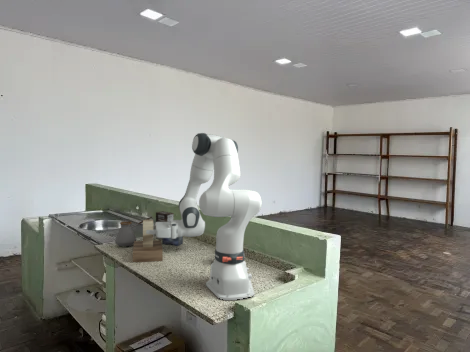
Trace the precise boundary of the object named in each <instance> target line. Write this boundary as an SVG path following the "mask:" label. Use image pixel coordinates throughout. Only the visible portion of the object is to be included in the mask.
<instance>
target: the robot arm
mask: <svg viewBox="0 0 470 352" xmlns="http://www.w3.org/2000/svg"><path fill="white" fill-rule="evenodd" d="M191 148H192V152H193V153H194V156H193V159H192V163H191V166H190V167H191V168H190V174H189V180H188V183H187V187H186V190H185V193H184V195H183V197H182V198H181V199H180V201H178V210H179V213H180V216H181V217H180V218H181V219H173V220H170V223H169V222H156V221H155V224H153V230H146V234H153V236H154V235H155V238H156V237H158V238H171V239H175V238H176V237H182V236H183V237H187V238H188V237H199V236H202V235H203V234H204V233H205V230H206V221H205V220H204V219H203V217H202V215H201V213H202V214H203V215H204V216H209V217H214V218H224V217H225V218H228V217H230V219H229V221H227V223H225V224H223V225H222V226H220V227H219V228H218V229H217V232H216V239H215V240H216V241H215V243H216V244H215V247H216V248H215V250H214V261H212V263H211V264H210V273H209V280H207V281H206V282H205V286H206V287H207V288H208V289H209V290H210V292H212V294H214V295H215V296H216V297H217V298H218V299H219V298H220V299H219V300H222V299H223V300H224V301H237V299H240V300H244V299H243V298H247V297H250V296H253V295H254V296H255V290H254V288H253V283H252V281H251V280H252V279H253V276H252V275H253V274H252V273H248V272H249V267H247V263H246V261H245V250H244V239H245V231H246V228H247V227H248V224H249V223H250V222H251V220H252V219H253V218H254V217H255V216H256V215H258V214H259V213H260V211H261V209H262V206H263V204H262V203H263V202H262V201H263V200H262V198H261V195H260V193H259V192H257V191H255V190H249V189H230V188H229V187H230V186H232V185H234V184H235V183H237V182H238V181H239V180H240V178H241V175H242V174H241V168H240V160H239V154H238V152H239V146H238V143H237V141H235V140H234V139H231V138H228V137H224V136H220V135H217V134H211V133H210V134H208V133H205V132H200V133H196V134H195V136H194V137H193V139H192V143H191ZM212 175H213V181H212V183H211V184H210V186H209V187H208V188H207V189H206V190H204V191H203V192H202V194H201V195H200V197H199V199H198V201H197V196H198V193H199V191H200V187H201V185H203V184H206V183H208V182H209V181H210V180H211V177H212ZM197 202H198V203H197ZM199 209H200V210H199ZM254 296H253V297H254ZM247 299H248V298H247ZM223 300H222V301H223Z"/></svg>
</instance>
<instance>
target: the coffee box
mask: <svg viewBox="0 0 470 352" xmlns="http://www.w3.org/2000/svg"><path fill="white" fill-rule="evenodd" d="M174 217H175V216H174V212H169V211H164V210H163V211H157V212H155V222H169V223H170V220H174ZM155 239H156V240H162V238H158V237H156V236H155Z"/></svg>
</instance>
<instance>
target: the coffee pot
mask: <svg viewBox="0 0 470 352" xmlns="http://www.w3.org/2000/svg"><path fill="white" fill-rule="evenodd" d="M144 220H153V221H154V219H153V216H149V217H147V218H145V219H144ZM119 224H120V228H119V230H118V233H117V235H116V236H115V240H114V242H115V244H116V245H117V246H118V247H120V246H129V247H132V246H134V241H137V238H136V237H137V236H136V235H135V233H134V230H133V228H134V227H136V226H139V225H141V224H143V220H140V221H138V223H136V224H134V225H132V221H121V222H119ZM131 225H132V226H131Z"/></svg>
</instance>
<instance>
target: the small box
mask: <svg viewBox="0 0 470 352" xmlns="http://www.w3.org/2000/svg"><path fill="white" fill-rule="evenodd" d="M161 243H162V245H167V246H172V247H180V246H181V245H183V244H184V236H182V237H176V238H175V239H171V238H162V239H161Z"/></svg>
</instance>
